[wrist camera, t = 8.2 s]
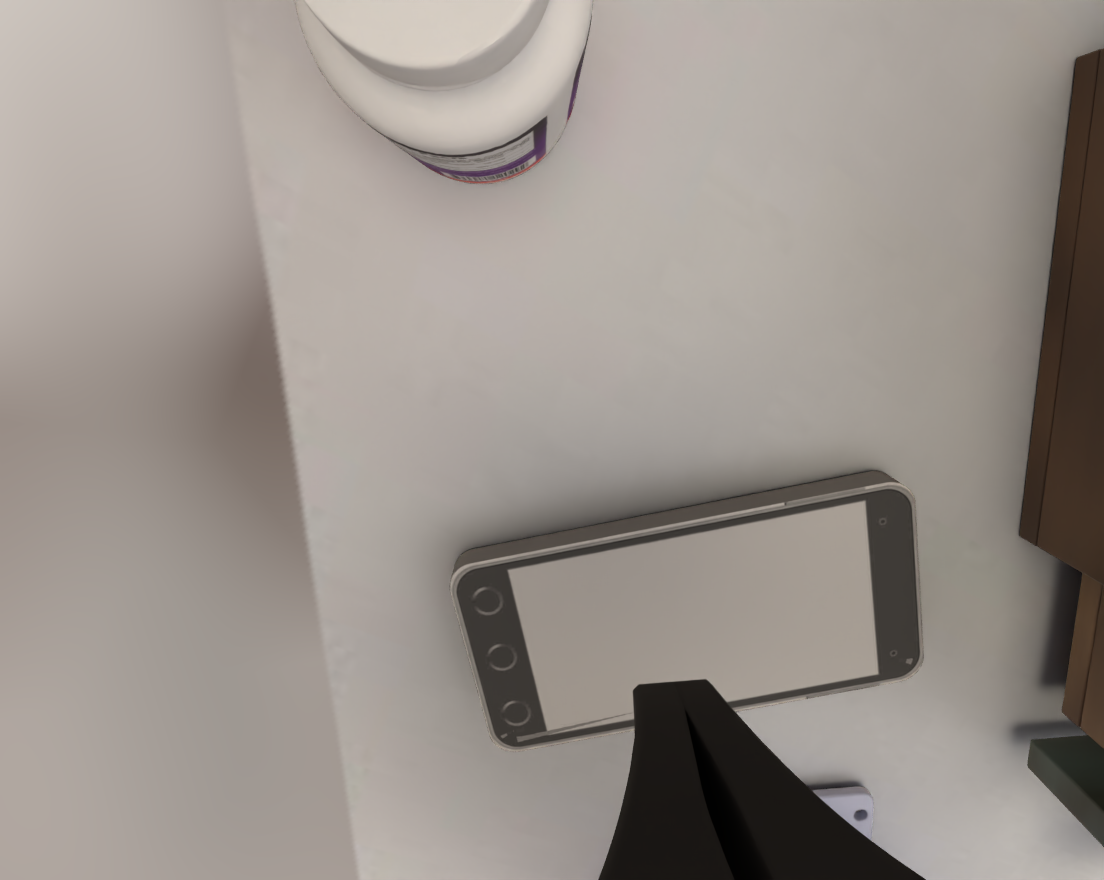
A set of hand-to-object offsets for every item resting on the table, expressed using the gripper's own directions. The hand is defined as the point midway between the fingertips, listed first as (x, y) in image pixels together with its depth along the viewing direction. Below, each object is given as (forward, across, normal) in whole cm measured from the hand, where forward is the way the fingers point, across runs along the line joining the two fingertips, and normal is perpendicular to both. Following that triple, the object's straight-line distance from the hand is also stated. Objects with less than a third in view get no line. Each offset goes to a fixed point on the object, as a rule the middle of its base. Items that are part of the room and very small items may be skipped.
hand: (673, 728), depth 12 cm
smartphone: (+10, -2, +4) cm, 11 cm away
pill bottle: (+11, +3, -13) cm, 17 cm away
